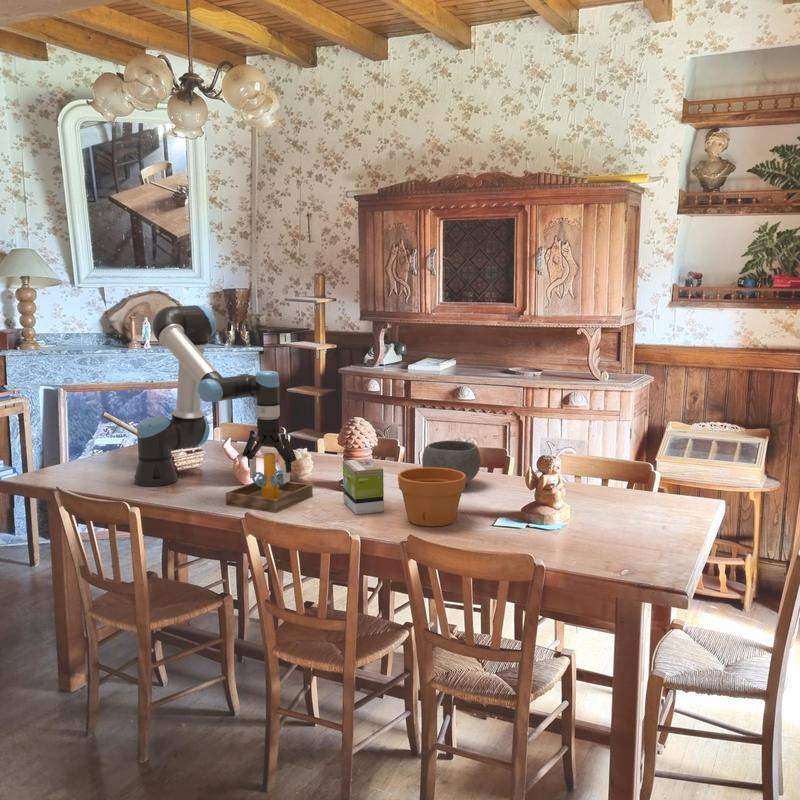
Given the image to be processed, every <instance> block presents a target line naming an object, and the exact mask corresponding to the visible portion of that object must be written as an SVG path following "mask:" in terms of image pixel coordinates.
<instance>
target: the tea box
mask: <svg viewBox="0 0 800 800" xmlns="http://www.w3.org/2000/svg"><path fill="white" fill-rule="evenodd" d="M342 483H343V484H342V487H343V494H342V495H343V497H342V498H343V503H344V504H346V506H347V507H348V508H349V509H350V510H351V511H352V512H353V513H354V514H355V515H363V514H372V513H375V514H376V513H382V512H384V509H385V508H384V507H385V505H384V501H385V500H384V498H385V497H384V495H385V494H384V493H385V492H384V486H385V485H384V468H383V467H381V466H380V465H379V464H378V463H377V462H375V461H374V460H372V459H371V458H362V459H351V460H343V461H342Z"/></svg>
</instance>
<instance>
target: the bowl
mask: <svg viewBox="0 0 800 800" xmlns="http://www.w3.org/2000/svg"><path fill="white" fill-rule="evenodd" d="M481 458H482V457H481V454H480V451H479V448H478V446H477V445H476V443H473V442H469V441H465V440H464V441H463V440H441V441H434V442H430V443H429V444H427V445H426V446H425V448H424V450H423V453H422V458H421V462H422V463H421V465H422V468H424V467H437V468H448V469H454V470H458V471H461V472H463V473H464V474H465V475H466V482H465V485H466V484H468V483H470V482H471V481H472V480H474V478H475V477H477V475H478V473H479V470H480V467H481V462H482V461H481Z"/></svg>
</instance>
